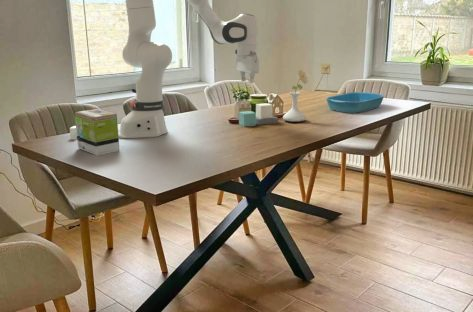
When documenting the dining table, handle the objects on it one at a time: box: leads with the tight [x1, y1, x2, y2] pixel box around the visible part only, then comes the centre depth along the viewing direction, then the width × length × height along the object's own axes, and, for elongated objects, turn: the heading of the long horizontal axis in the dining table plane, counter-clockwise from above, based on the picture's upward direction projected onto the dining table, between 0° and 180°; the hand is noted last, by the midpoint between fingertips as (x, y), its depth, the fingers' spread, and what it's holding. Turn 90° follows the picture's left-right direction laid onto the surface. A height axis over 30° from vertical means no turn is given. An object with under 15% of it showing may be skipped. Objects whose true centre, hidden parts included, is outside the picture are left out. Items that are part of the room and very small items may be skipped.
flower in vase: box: [282, 68, 309, 123], centre depth 233 cm, size 13×11×25 cm
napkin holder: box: [69, 125, 77, 141], centre depth 208 cm, size 15×11×6 cm
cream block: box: [255, 102, 274, 118], centre depth 233 cm, size 6×6×6 cm
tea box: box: [74, 108, 121, 157], centre depth 183 cm, size 15×10×15 cm, turn 45°
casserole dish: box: [325, 91, 385, 114], centre depth 266 cm, size 37×22×7 cm, turn 135°
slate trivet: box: [256, 115, 279, 125], centre depth 234 cm, size 10×10×2 cm
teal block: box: [238, 110, 257, 128], centre depth 227 cm, size 6×6×6 cm
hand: (247, 82), depth 223 cm, fingers open, 8 cm apart
